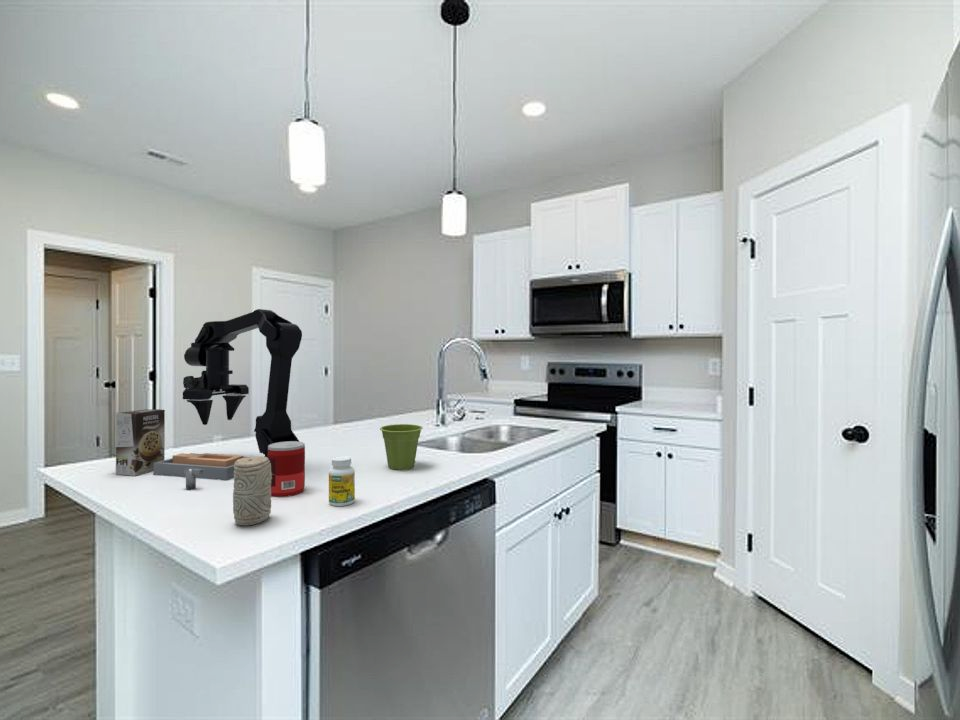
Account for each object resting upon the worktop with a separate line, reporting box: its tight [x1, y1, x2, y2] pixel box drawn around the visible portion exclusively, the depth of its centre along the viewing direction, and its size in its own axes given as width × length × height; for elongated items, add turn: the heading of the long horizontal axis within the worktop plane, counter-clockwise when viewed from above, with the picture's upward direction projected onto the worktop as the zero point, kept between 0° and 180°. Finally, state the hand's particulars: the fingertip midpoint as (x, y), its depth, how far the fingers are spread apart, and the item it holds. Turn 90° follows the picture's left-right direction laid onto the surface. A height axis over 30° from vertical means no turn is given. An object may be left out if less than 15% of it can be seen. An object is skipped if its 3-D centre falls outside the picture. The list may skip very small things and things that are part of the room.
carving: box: [232, 456, 272, 526], centre depth 90 cm, size 6×8×12 cm
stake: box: [184, 468, 203, 491], centre depth 110 cm, size 4×2×5 cm, turn 78°
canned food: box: [268, 441, 306, 498], centre depth 108 cm, size 8×8×11 cm
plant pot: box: [379, 423, 424, 471], centre depth 132 cm, size 12×12×11 cm
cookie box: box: [115, 408, 166, 477], centre depth 125 cm, size 9×6×16 cm
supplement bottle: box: [328, 455, 356, 507], centre depth 101 cm, size 5×5×10 cm
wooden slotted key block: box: [172, 452, 245, 467], centre depth 126 cm, size 18×6×3 cm, turn 78°
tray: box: [152, 452, 253, 481], centre depth 125 cm, size 22×12×3 cm, turn 78°
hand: (217, 422), depth 133 cm, fingers open, 9 cm apart
